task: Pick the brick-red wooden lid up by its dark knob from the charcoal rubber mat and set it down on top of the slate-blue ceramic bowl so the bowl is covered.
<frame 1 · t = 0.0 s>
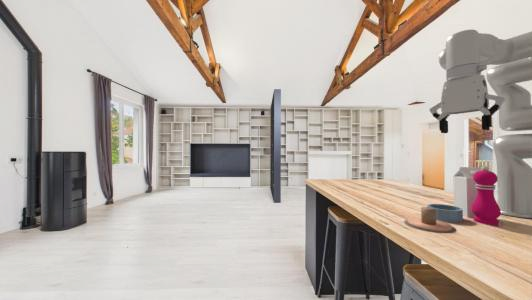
hand: (463, 131, 65), 31 cm above the kitchen island, tool pointing down, fingers open, 9 cm apart
round mat: (428, 226, 73), on the kitchen island
bowl: (444, 219, 81), on the kitchen island
pepper mill: (486, 224, 76), on the kitchen island
lid: (428, 225, 73), resting on round mat
milk carton: (470, 216, 84), on the kitchen island
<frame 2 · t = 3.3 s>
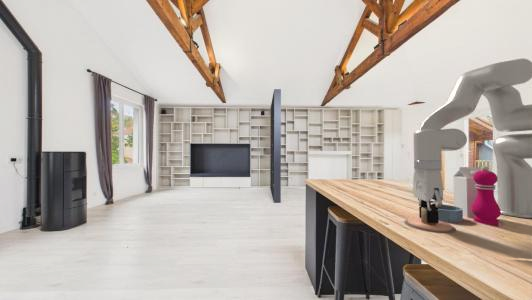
hand: (428, 219, 73), 2 cm above the kitchen island, tool pointing down, fingers closed on lid, 4 cm apart
lid: (428, 225, 73), resting on round mat, touching gripper
everything else where it was.
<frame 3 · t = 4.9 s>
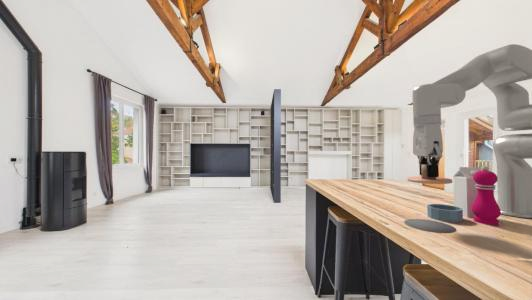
hand: (428, 175, 73), 17 cm above the kitchen island, tool pointing down, fingers closed on lid, 4 cm apart
lid: (429, 181, 73), point 15 cm above the kitchen island, touching gripper
everything else where it was.
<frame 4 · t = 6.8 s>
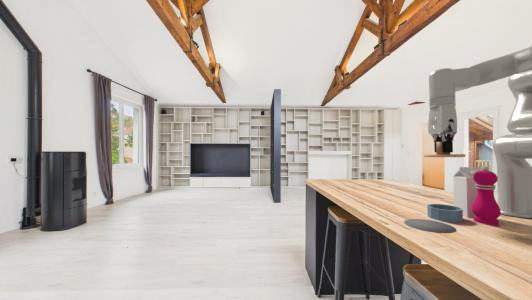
hand: (443, 151, 81), 25 cm above the kitchen island, tool pointing down, fingers closed on lid, 4 cm apart
lid: (443, 156, 81), point 23 cm above the kitchen island, touching gripper
everything else where it was.
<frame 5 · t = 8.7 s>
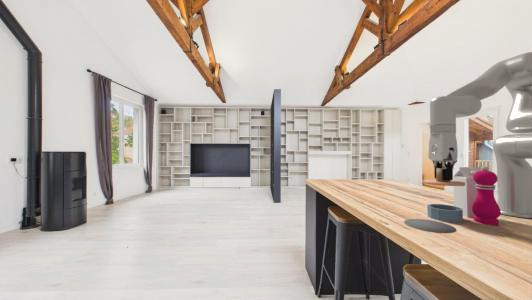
hand: (443, 178, 81), 15 cm above the kitchen island, tool pointing down, fingers closed on lid, 4 cm apart
lid: (443, 183, 81), point 13 cm above the kitchen island, touching gripper
everything else where it was.
when the fingers open (8 cm above the kitchen island, at t = 10.4 s): lid drops 1 cm, resting on bowl.
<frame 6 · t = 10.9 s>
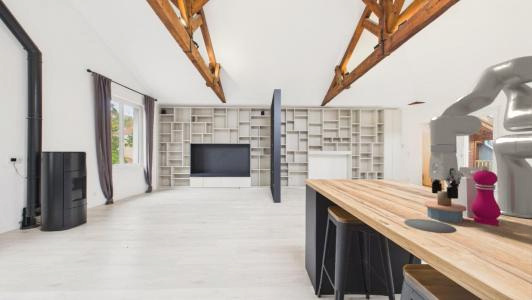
hand: (444, 195, 81), 9 cm above the kitchen island, tool pointing down, fingers open, 9 cm apart
lid: (444, 207, 81), point 4 cm above the kitchen island, touching bowl
everything else where it was.
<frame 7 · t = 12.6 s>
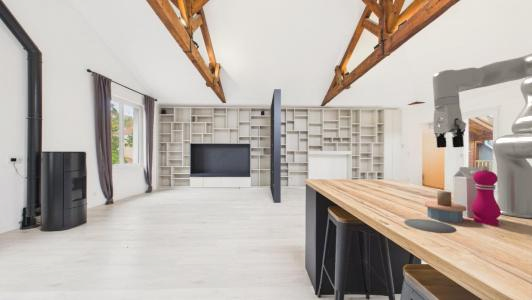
hand: (449, 147, 84), 27 cm above the kitchen island, tool pointing down, fingers open, 9 cm apart
nothing on the kitchen island moved.
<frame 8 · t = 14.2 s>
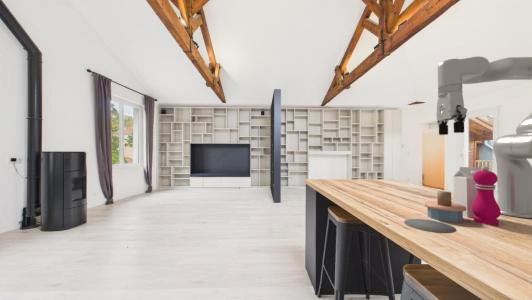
hand: (450, 133, 88), 32 cm above the kitchen island, tool pointing down, fingers open, 9 cm apart
nothing on the kitchen island moved.
at the end: lid 0.0 cm off-centre on the bowl, point 4.5 cm above the bowl's base; lid tilted 0°; the gripper is holding nothing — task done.
